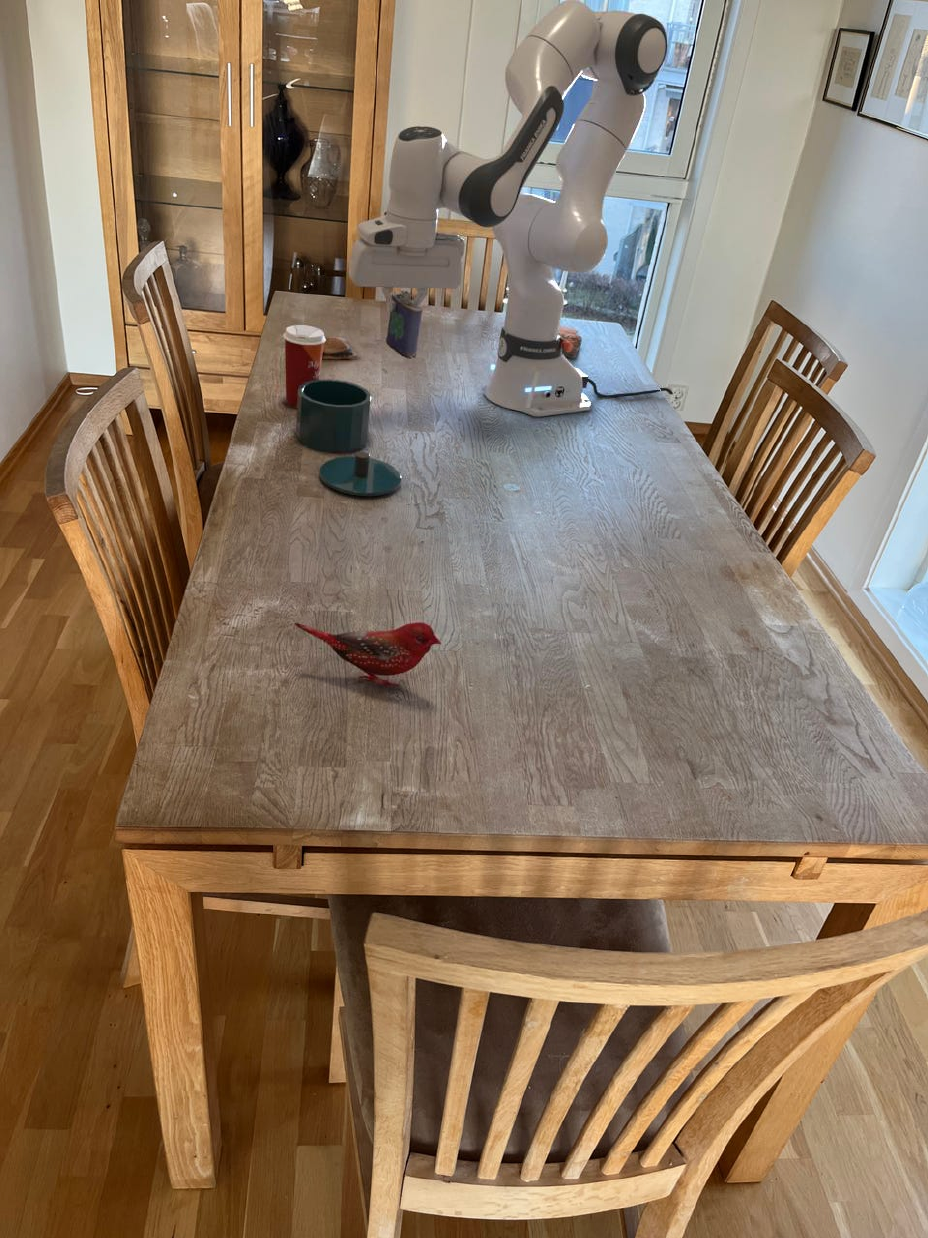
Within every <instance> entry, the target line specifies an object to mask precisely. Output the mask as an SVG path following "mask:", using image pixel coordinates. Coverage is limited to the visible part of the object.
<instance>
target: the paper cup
mask: <svg viewBox="0 0 928 1238" xmlns="http://www.w3.org/2000/svg"><path fill="white" fill-rule="evenodd" d="M325 337H326V336H325V333H324V331H323V330H322V329H320V328H319V327H315V326H312V325H306V324H293V325H289V326H287V327H286V329H285V332H284V333H283V339H284V351H285V352H284V354H285V355H284V358H285V359H284V360H285V362H284V363H285V367H284V368H285V400H286V401H285V402H286V404H287V405H288V406H289V407H292V408H295V409H297V400H298V389H299V387H300V385H302V384H304V383H306V382H308V381H313V380H320V374H321V367H322V360H323V359H322V352H323V343H324V342H325V340H326V339H325Z"/></svg>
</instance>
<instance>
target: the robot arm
mask: <svg viewBox="0 0 928 1238" xmlns="http://www.w3.org/2000/svg"><path fill="white" fill-rule="evenodd" d="M667 53H668V36H667V31H666V28H665V26H664V25H663V24H662V22H661V21H659V20H658V19H656V18H655V17H653V16H650V15H648V14H645V13H633V12H629V11H623V10H609V11H608V10H603V11H593V10H592V9H591V8H590V7H589V6H588V5H587V4H586V3H584V2H583V1H580V0H563V1H561V2H560V3H558V4H557V5H556V6H555V7H553V8H552V9H551V10H550V11H549V12H548V13H547V14H545V16H543V18H541V20H539V21H538V23H536V25H535V26H534V27H533V28H532V29H530V32H528V34H527V35H526V36H525V38H524V39H523V40H522V41H521V42H520V43H519V45H518V46H517V48H516V49H515V50H514V52H513V53H512V55H511V56H510V58H509V60H508V62H507V65H506V67H505V72H504V73H505V75H504V79H505V88H506V91H507V93H508V96H509V98H510V100H511V102H512V103H513V105H514V107H515V108H516V109H517V110H518V112H519V113H520V114H521V118H520V120H519V122H518V123H517V125H516V127H515V129H514V131H513V132H512V134H511V135H510V137H509V139H508V141H507V142H506V143H505V145H504V147H503V149H502V151H500V153H499V154H497V156H495V157H491V158H482V157H479V156H477V155H473V154H472V153H470V152H466V151H464V150H462V149H460V148H458V147H457V146H456V145H454V144H453V143H451V142H450V141H449V140H448V139H447V138H446V137H445V136H444V134H443V132H442V131H441V130H440V129H438V128H436V127H432V126H409V127H407V128H404V129H402V130H401V131H399V133H398V135H397V136H396V139H395V142H394V145H393V149H392V154H391V159H390V168H389V176H388V177H389V178H388V186H389V199H388V202H387V206H386V212H385V213H386V214H385V215H382V216H378V217H376V218H373V219H369V220H365V221H362V222H360V223H358V225H357V234H358V236H359V238H358V239H356V241H355V242H354V243H353V245H352V249H351V253H350V258H349V265H348V277H349V279H350V281H351V283H353V284H354V285H355V286H356V287H362V288H365V287H366V288H369V287H370V288H381V292H382V294H383V296H384V298H385V300H386V305H385V310H386V311H387V312H388V313H390V312H397V304H398V303H397V302H396V301H395V300H392V295H391V294H394V288H400V289H401V288H402V289H416V290H415V291H417V294H416V295H415V297H414V298H413V299H411V300H410V301H411V302H412V303H413V304H415V305H416V306H418V307H420V308H421V304H422V302H423V301H424V299H425V298H426V297H427V296H428V291H429V289H434V290H435V289H440V290H441V289H442V290H456V289H458V288H459V287H460V285H461V284H462V277H463V276H462V274H463V261H462V258H463V256H464V253H465V241H464V239H463V237H461V236H459V234H457V233H445V232H437V229H438V219H439V210H440V209H445V210H448V211H450V212H451V213H454V214H456V215H459V216H462V217H464V218H466V219H467V220H468V221H470V222H472V223H474V224H476V225H478V226H479V227H482V228H491V229H492V233H493V236H494V238H495V239H496V241H497V243H498V244H499V247H500V249H501V252H502V254H503V257H504V258H503V259H504V261H505V262H504V263H505V267H506V273H507V282H508V293H507V301H506V302H507V303H506V309H505V316H504V322H503V326H501V328H500V329H501V330H500V335H499V338H498V339H499V340H498V345H497V359H496V361H495V364H490V370H492V371H493V372H492V374H491V378H490V380H489V383H488V385H487V387H486V389H485V391H484V395H485V397H486V398H487V399H488V400H489V401H490V402H492V403H494V404H496V405H498V406H500V407H502V408H505V409H509V410H511V411H512V410H513V411H516V412H522V413H524V414H527V415H530V416H532V417H545V416H546V417H547V416H554V415H562V414H570V413H578V412H587V411H590V410H591V405H592V403H591V401H590V399H589V398H588V396H586V395H585V394H584V393H583V389H587V385H588V383H589V384H590V385H591V386H592V388H593V393H594V395H595V396H597V397H599V398H609V399H610V398H611V399H612V398H616V399H617V398H623V397H634V396H641V395H649V394H655V393H660V392H667V393H668V394H669V395H674V393H673V391H672V390H671V389H670V388H668V387H659V388H660V389H661V391H660V390H654V389H648V390H640V391H633V392H632V391H631V392H621V393H613V394H604V393H600V392H599V391H598V388H597V384H596V383H595V382H594V380H592V379H590V378H589V375H587V374H585V373H584V372H583V371H581V370H580V369H579V368H576V367H575V366H574V365H573V364H572V363H571V362H570V361H569V360H568V359H567V357H565V356H563V355H562V349H564V350H565V351H566V352H570V351H571V350H572V348H573V344H572V343H571V342H569V341H568V340H564V339H563V338H561V337H560V336H559V335H558V331H559V326H561V320H562V315H563V310H564V305H565V298H564V294H563V291H562V289H561V288H560V287H559V285H558V284H557V281H556V279H555V276H554V271H553V268H554V269H556V270H559V271H561V272H566V273H572V274H573V273H574V274H589V273H590V272H592V271H594V270H595V269H596V268H598V266H599V265H600V264H601V263H602V261H603V260H604V258H605V256H606V254H607V250H608V245H609V235H608V231H607V228H606V226H605V222H604V218H603V210H604V209H603V208H604V201H605V198H606V195H607V191H608V189H609V186H610V184H611V182H612V180H613V178H614V176H615V174H616V172H617V170H618V168H619V166H620V164H621V163H622V161H623V159H624V157H625V155H626V154H627V152H628V150H629V148H630V146H631V144H632V142H633V140H634V138H635V136H636V133H637V132H638V129H639V126H640V123H641V121H642V118H643V115H644V111H645V108H646V96H645V94H644V93H645V92H646V91H648V90H649V88H650V87H651V86H652V85H653V84H654V82H655V79H656V78H657V77H658V75H659V73H660V72H661V70H662V68H663V66H664V63H665V61H666V57H667ZM578 78H582V79H583V78H584V79H585V78H586V79H589V80H593V81H592V82H593V83H592V89H591V94H590V97H589V100H588V101H587V102H586V103H585V106H584V107H583V108H582V110H581V112H580V114H579V115H578V117H577V119H576V120H575V122H574V124H573V125H572V127H571V130H570V132H569V133H568V135H567V137H566V139H565V141H564V143H563V145H562V146H561V148H560V150H559V152H558V154H557V155H556V159H555V169H556V173H557V175H558V177H559V179H560V181H561V183H562V185H561V190H560V193H559V196H558V197H557V199H556V200H555V201H553V200H551V199H547V198H545V197H542V196H539V195H536V194H532V193H521V192H522V189H523V187H524V185H525V183H526V182H527V180H528V178H529V176H530V175H531V173H532V171H533V169H534V168H535V166H536V165H537V163H538V161H539V159H540V158H541V156H542V155H543V153H544V152H545V149H546V148H547V146H548V144H549V143H550V141H551V139H552V138H553V136H554V134H555V132H556V130H557V129H558V126H559V125H560V122H561V120H562V117H563V114H564V108H565V104H564V103H565V102H564V99H565V96H566V95H567V93H568V91H569V90H570V88H571V87H572V86H573V85H574V83H575V82H576V81H577V79H578ZM563 340H564V341H563Z"/></svg>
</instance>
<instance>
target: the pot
mask: <svg viewBox="0 0 928 1238" xmlns="http://www.w3.org/2000/svg"><path fill="white" fill-rule="evenodd" d="M371 405H372V394H371V392H370V391H369V390H368V389H367V388H365V387H363V386H361V385H359V384H357V383H353V382H351V381H346V380H340V379H334V378H333V379H331V378H330V379H321V378H319V380H313V381H308V382H306V383H304V384H302V385H300V387H299V389H298V400H297V408H296V419H295V420H296V423H295V435H296V439H297V440H298V442H299V443H300V444H302V445H304V446H306V447H308V448H310V449H313V450H316V451H319V452H325V453H334V454H343V453H344V454H345V453H352V452H356V451H358V450H361V449H363V448H364V447H365V446H366V445H367V443H368V437H369V429H370V428H369V427H370V416H371Z"/></svg>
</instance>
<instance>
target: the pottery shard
mask: <svg viewBox="0 0 928 1238" xmlns="http://www.w3.org/2000/svg"><path fill="white" fill-rule="evenodd" d="M578 332H579V330H577V328H573V327H569V326H565V325H560V326H559V331H558V335H559V336H560V337H561V338H563V339H564V340H568V341H569V342H571V343H572V344H573V348H572V350H571V351H570V352H566V351H565V350H564V349H562V355H563V356H564V357H565V358H568V359H575V358H576V357H577V355H578V353H579V351H580V348H581V346H582V341H583V339H582V336H581V335H579V334H578ZM564 340H563V341H564Z"/></svg>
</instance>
